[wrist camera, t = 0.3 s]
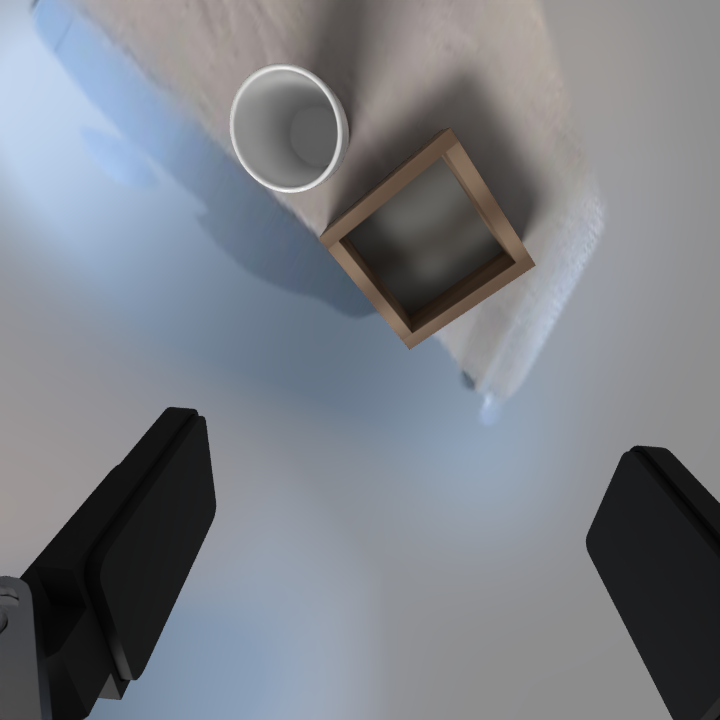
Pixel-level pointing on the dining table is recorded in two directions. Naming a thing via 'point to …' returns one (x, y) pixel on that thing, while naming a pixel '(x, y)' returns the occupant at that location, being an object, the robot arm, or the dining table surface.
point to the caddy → (427, 241)
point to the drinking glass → (288, 128)
